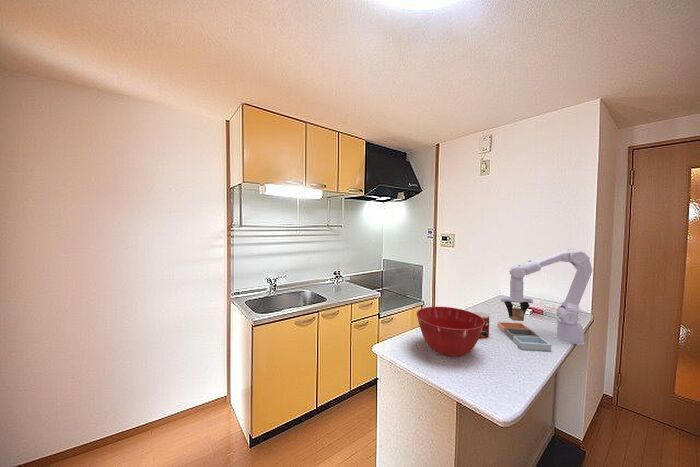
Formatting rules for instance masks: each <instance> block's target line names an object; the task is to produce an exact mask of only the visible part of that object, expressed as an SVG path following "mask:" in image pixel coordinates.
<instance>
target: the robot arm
mask: <svg viewBox="0 0 700 467" xmlns="http://www.w3.org/2000/svg"><path fill="white" fill-rule="evenodd" d="M590 260H591V259H590V256H589V255H588V254H587V253H586V252H585V251H582V250H579V249H576V248H575V249H574V248H569V249H566V250H562V251H560V252H559V251H558V252H556V253H554V254H552V255H550V256H547V257H544V258H542V259H540V260H535V259H528V260H527V262H524V263H522V264H521V263H519V264H517V266H516V265H515V266H512V267H510V270H509V274H510V280H509V287H510V288H509V290H510V291H509V296H508V297H506V296H505V297H500V302H501V303H503V304H505V307H506V309H507V314H508V317H509V316H510V317H512V308H514V304H513V303H519V305H520V307H519V308H520V309H521V310H523V311H524V316H525V315H526V312H527V310H528V308H529V307H530V304H534V299H533V298H526V297H524V277H525V276H529V275H531V274H535V273H537V272H540V271H541V269H542V267H546V266H549V265H552V264H556V263H558V262H561V263H564V262H565V263H570V264H572V266H573V267H574V269H575V270H576V273H575V275H574V276H573V279H572V281H571V285H570V287H569V288H568V289H569V290H568V292H567V295H566V298H565V300H564V301H562V302H561V304H560V306H559V307H557V309H556V310H555V311H556V315H557V316H558V319H557V321H556V322H557V323H556V325H557V327H556V330H557V331H556V332H557V333H556V335H552V337H554V338H555V339H556V340H558V341H559V342H560V343H562V344H572V345H586V344H585V342H584V340H585V338H584V337H585V336H584V335H585V330H584V329H585V328H584V327H583V324H581V323H580V322H579V319H580V318H579V314H580V308H579V306H580V303H581V300H582V298H583V296H584V293H585V291H586V288H587V285H588V284H589V280H590V278H591V276H592V274H593V267H592V264H591V262H590Z"/></svg>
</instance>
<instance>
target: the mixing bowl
mask: <svg viewBox="0 0 700 467" xmlns="http://www.w3.org/2000/svg"><path fill="white" fill-rule="evenodd" d="M416 317H417V320H418V324H419V329H420V331H421V334H422V336H423V339H424V340H425V342H426V343H425V344H426V345H427V346H428V347H429V348H430V349H431V350H432V351H434V353H436V354H439V355H440V356H444V357H449V358H460V357H464V356H465V355H468V354H469V353H470V352H472V351H473V349H474V348H475V346H476V345H477V343H478V341H479V337H480V334H481V332H482V329H483V326H484V324H485V321H484V319H483V318H482V317H480V316H479V315H477V314H475V313H474V312H471V311H469V310H465V309H462V308H456V307H452V306H451V307H449V306H429V307H428V306H426V307H423V308H420V309H418V310H417V311H416Z"/></svg>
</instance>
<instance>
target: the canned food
mask: <svg viewBox="0 0 700 467" xmlns="http://www.w3.org/2000/svg"><path fill="white" fill-rule="evenodd" d="M473 313H475V314H477V315H479V316H480V317H482V318H483V319H484V321H485V324H484V326H483V329H482V332H481V334H480V337H479V339H481V340H482V339H487V338H490V314H488V313H486V312H482V311H473ZM479 339H478V340H479Z"/></svg>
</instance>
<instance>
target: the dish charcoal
mask: <svg viewBox="0 0 700 467" xmlns="http://www.w3.org/2000/svg"><path fill="white" fill-rule="evenodd" d="M504 334H505V336H507V337H508V339H510V340H511V341H513V336H529V337H541V336H540V335H539V334H537V333H536V332H535V331H534V330H532V329H530V330H528V329H508V328H505V333H504Z"/></svg>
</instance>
